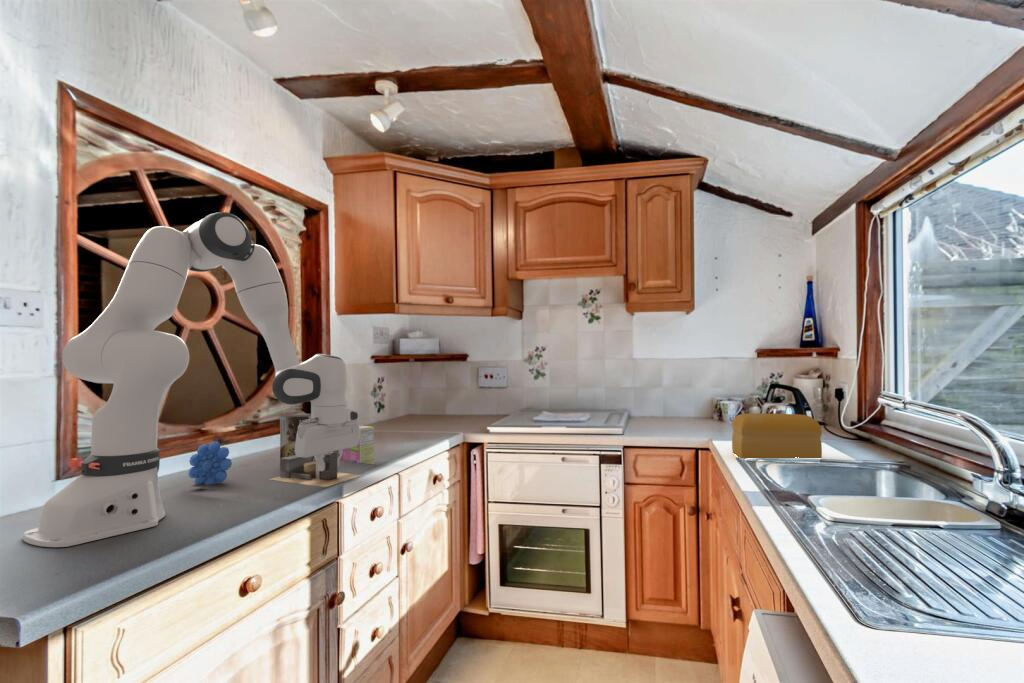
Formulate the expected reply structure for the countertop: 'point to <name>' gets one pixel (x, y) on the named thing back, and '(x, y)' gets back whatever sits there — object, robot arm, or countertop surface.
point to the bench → (295, 474)
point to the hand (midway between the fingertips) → (328, 468)
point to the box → (361, 448)
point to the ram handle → (328, 467)
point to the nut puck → (310, 469)
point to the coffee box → (290, 433)
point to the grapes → (210, 464)
